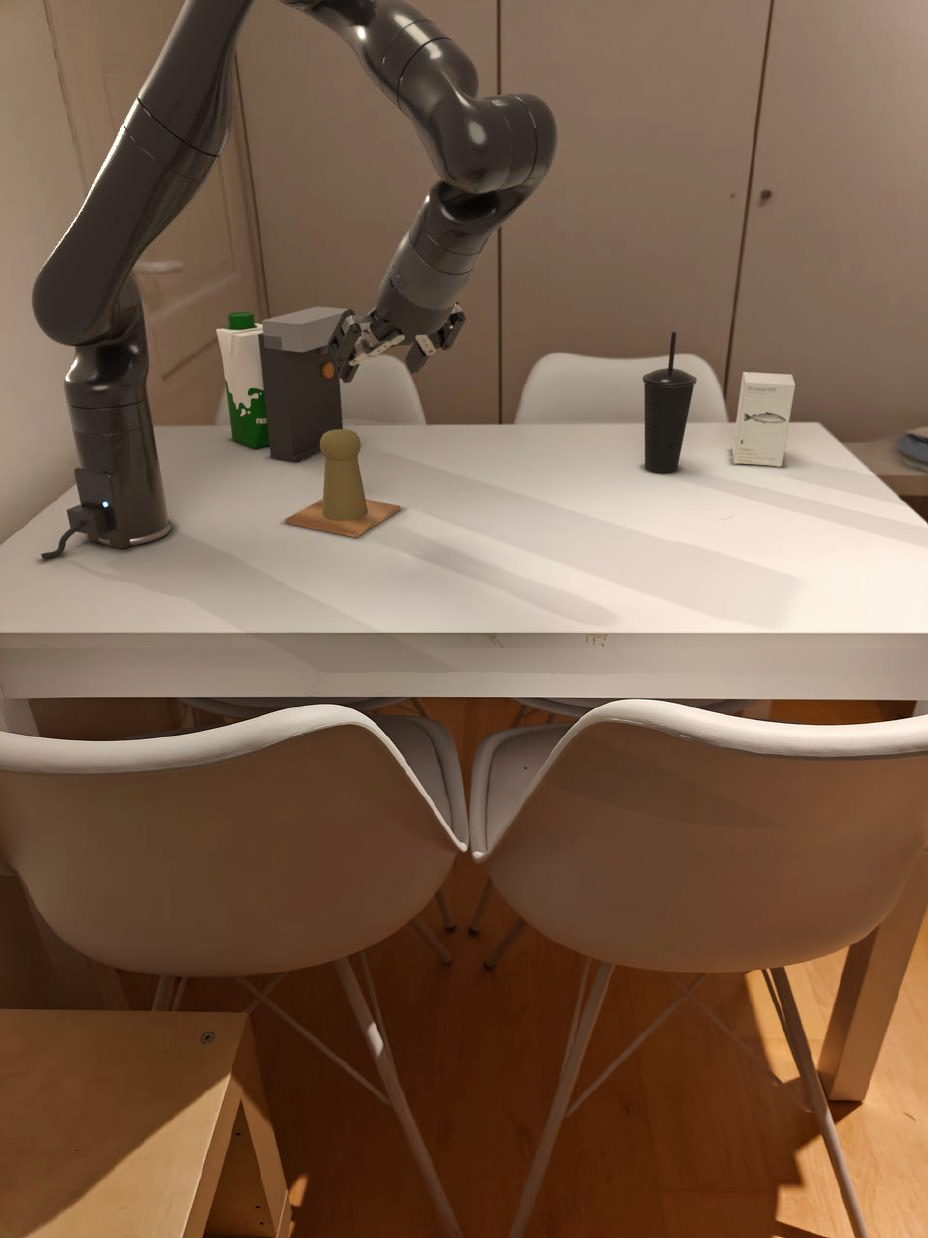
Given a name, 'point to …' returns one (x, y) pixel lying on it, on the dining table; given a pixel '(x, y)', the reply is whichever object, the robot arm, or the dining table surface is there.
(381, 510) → the coaster
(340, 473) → the pepper shaker
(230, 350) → the milk carton
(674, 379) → the drinking cup
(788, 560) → the dining table surface
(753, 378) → the white packaging box
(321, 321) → the coffee machine
